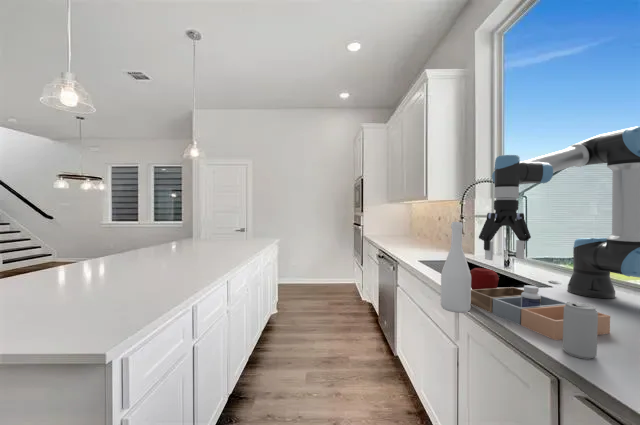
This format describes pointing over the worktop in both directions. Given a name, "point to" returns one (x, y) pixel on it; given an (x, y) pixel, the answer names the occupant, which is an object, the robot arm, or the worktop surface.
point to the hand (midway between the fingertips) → (504, 259)
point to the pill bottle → (530, 296)
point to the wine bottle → (456, 276)
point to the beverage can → (580, 330)
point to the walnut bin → (492, 296)
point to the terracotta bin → (555, 321)
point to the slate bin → (518, 307)
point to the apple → (483, 278)
